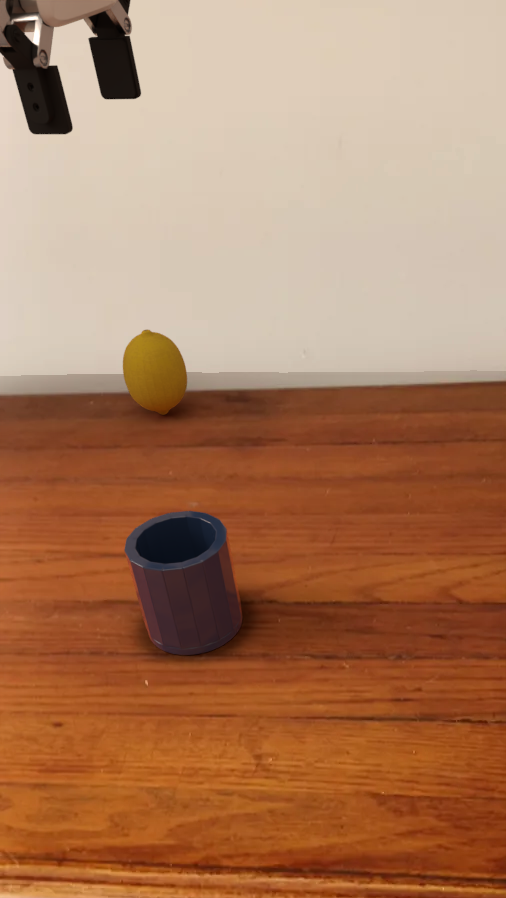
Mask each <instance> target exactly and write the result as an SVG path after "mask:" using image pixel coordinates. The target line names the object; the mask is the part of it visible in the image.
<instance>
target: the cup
mask: <svg viewBox="0 0 506 898" xmlns="http://www.w3.org/2000/svg"><path fill="white" fill-rule="evenodd" d="M228 533H229V532H228V529H227V527H226V525H224V523H223V522H222V520H221V519H219V518H218V517H216V516H214V515H211V514H210V513H207V512H201V511H194V510H182V511H181V510H180V511H173V512H172V511H171V512H167V513H164V514H161V515H158V516H153V517H152V518H149V519H148V520H146V521H145V522H143V523H141V524H140V525H138V526H136V527H135V528H134V529H133V530H132V531H131V533H130V534H129V535H128V536H127V537H126V540H125V543H124V549H123V551H124V555H125V557H126V562H127V565H128V569H129V572H130V576H131V579H132V583H133V587H134V590H135V594H136V597H137V601H138V604H139V608H140V612H141V615H142V619H143V622H144V627H145V629H146V630H147V634H148V637H149V640H150V641H151V643H152V644H153V645H154V646H155V647H156V648H158V649H159V650H161V651H163V652H165V653H168V654H172V655H180V656H195V655H200V654H205V653H207V652H211V651H214V650H216V649H218V648H220V647H222V646H224V645H225V644H227V643H228V642H230V641H231V640H232V639H233V638H234V637H235V636H236V635H237V634H238V632H239V631H240V629H241V627H242V624H243V619H244V618H243V612H242V602H241V598H240V592H239V591H240V590H239V586H238V581H237V575H236V570H235V565H234V561H233V555H232V550H231V543H230V539H229V534H228Z"/></svg>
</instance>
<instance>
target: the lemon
mask: <svg viewBox="0 0 506 898" xmlns="http://www.w3.org/2000/svg"><path fill="white" fill-rule="evenodd" d="M122 373H123V379H124V383H125V386H126V389H127V391H128V393H129V394H130V397H131V399H133V400H134V402H136V403H137V404H138V405H139V406H141V408H143V409H145V410H147V411H151V412H156V413H158V414H159V415H161V416H162V415H168V413H169V412H170V410H171V409H173V408H175V407H176V406H177V405H178V404H180V403H181V401H182V399H183V398H184V396H185V393H186V391H187V387H188V373H187V367H186V363H185V359H184V357H183V355H182V353H181V351H180V349H179V347H178V346H177V345H176V344H175V342H174V341H173V340H172V339H171V338H169V337H168V336H166V335H164V334H163V333H160V332H156V331H152V330H151V329H143V330H142V331H141V332H140V333H139V334H137V335H136V336H134V337H133V338H131V340H130V341H129V342H128V344H127V345H126V347H125V349H124V352H123V357H122Z"/></svg>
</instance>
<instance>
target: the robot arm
mask: <svg viewBox="0 0 506 898" xmlns="http://www.w3.org/2000/svg"><path fill="white" fill-rule="evenodd" d="M130 7H131V0H0V55H1V56H2V60H3V63H4V66H5V67H6V68H7V69H8V70H12V73H13V77H14V81H15V85H16V88H17V91H18V95H19V99H20V102H21V106H22V109H23V113H24V116H25V120H26V123H27V127H28V130H29V132H30V133H31V134H33V135H68V134H70V133H71V132H72V131H73V127H74V126H73V121H72V117H71V114H70V110H69V106H68V102H67V98H66V94H65V90H64V86H63V82H62V77H61V73H60V70H59V66H58V65H57V64H55V65H50V63H51V54H52V47H53V46H52V45H53V39H54V38H53V37H54V30H55V28H60V27H64V26H67V25H69V24H72V23H75V22H78V21H79V22H80V21H81V20H83V21H84V22H85V23H86V25H87V26H88V28H89V29H90V31H91V32H92V34H93V35H94V36H89V37H88V38H87V39H88V44H89V49H90V53H91V57H92V63H93V66H94V70H95V74H96V79H97V83H98V87H99V92H100V95H101V97H102V98H103V99H104V100H136V99H138V98H140V97H142V89H141V84H140V79H139V76H138V70H137V65H136V60H135V54H134V51H133V45H132V41H131V36H130V35H131V34H132V31H133V26H132V25H133V24H132V21H131V18H130V17H129V12H130ZM26 33H33V38H32V39H33V40H31V39H30V38H29V37H28V36H27V34H26Z"/></svg>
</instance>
